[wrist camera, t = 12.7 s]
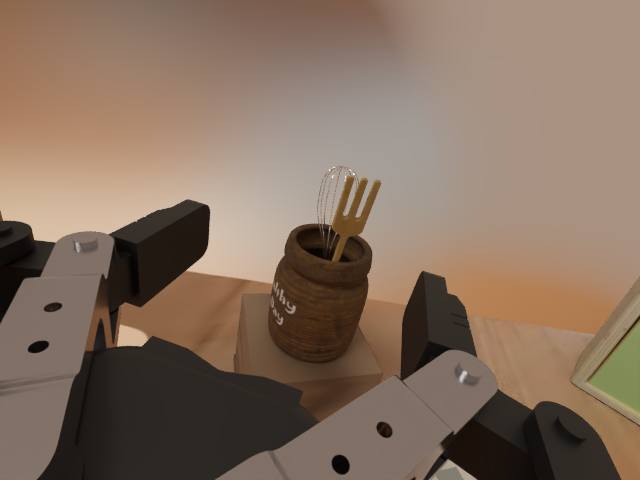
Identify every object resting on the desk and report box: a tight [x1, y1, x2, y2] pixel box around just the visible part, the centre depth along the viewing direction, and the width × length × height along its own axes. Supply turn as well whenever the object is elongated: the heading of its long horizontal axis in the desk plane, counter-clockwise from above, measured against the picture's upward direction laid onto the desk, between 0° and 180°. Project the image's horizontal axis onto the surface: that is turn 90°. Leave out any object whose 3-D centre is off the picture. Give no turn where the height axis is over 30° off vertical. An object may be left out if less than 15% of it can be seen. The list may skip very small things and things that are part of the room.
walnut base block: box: [234, 294, 383, 422], centre depth 24 cm, size 8×8×7 cm
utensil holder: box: [268, 166, 381, 362], centre depth 20 cm, size 6×6×12 cm
